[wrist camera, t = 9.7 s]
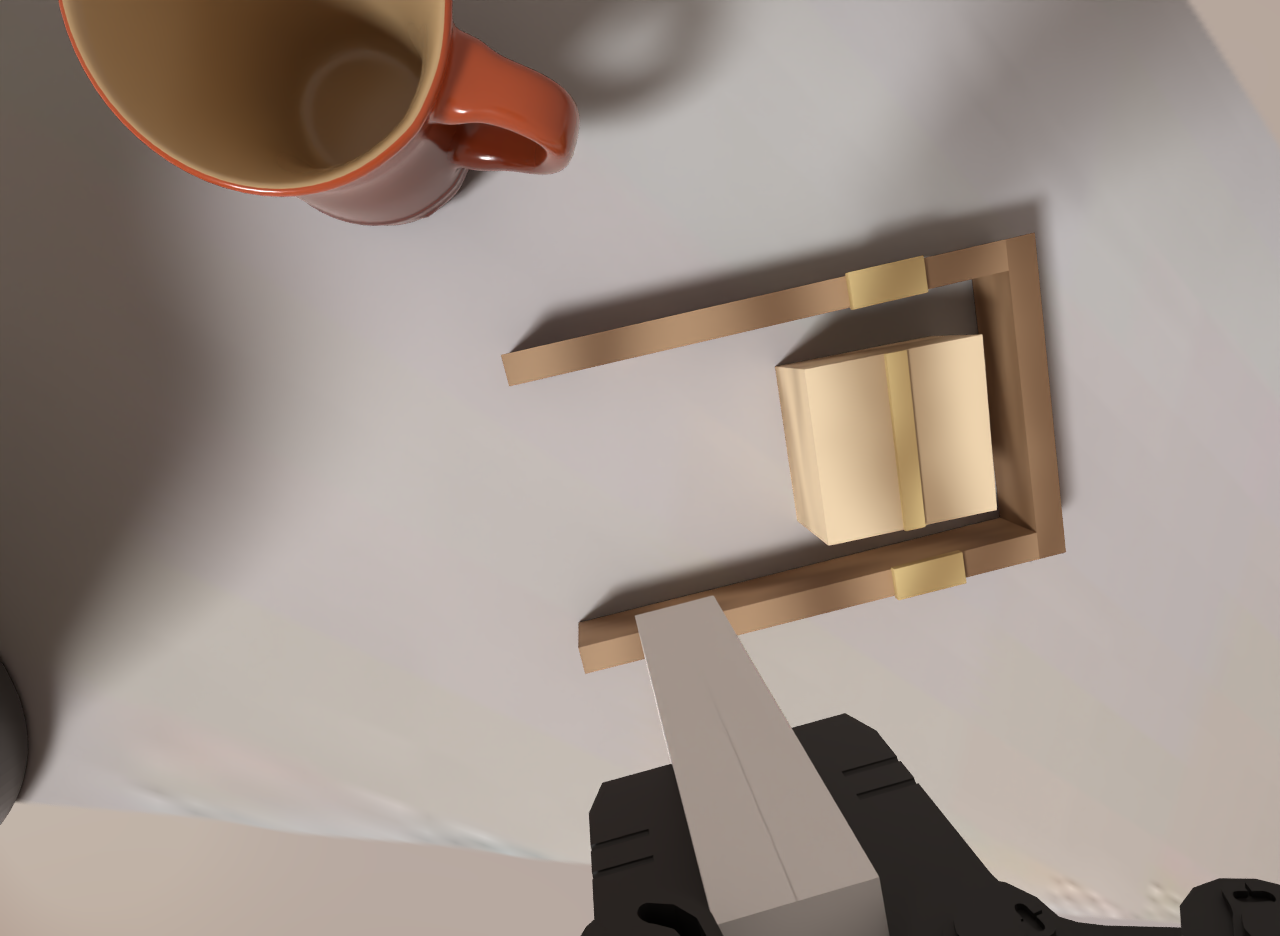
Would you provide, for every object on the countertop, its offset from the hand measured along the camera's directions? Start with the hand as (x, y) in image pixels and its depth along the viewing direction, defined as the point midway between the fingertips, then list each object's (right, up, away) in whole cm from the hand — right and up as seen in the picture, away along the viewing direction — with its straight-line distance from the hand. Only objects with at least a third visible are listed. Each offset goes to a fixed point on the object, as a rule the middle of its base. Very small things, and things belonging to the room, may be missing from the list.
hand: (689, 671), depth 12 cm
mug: (-9, +16, +13) cm, 23 cm away
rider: (+9, +6, +17) cm, 20 cm away
